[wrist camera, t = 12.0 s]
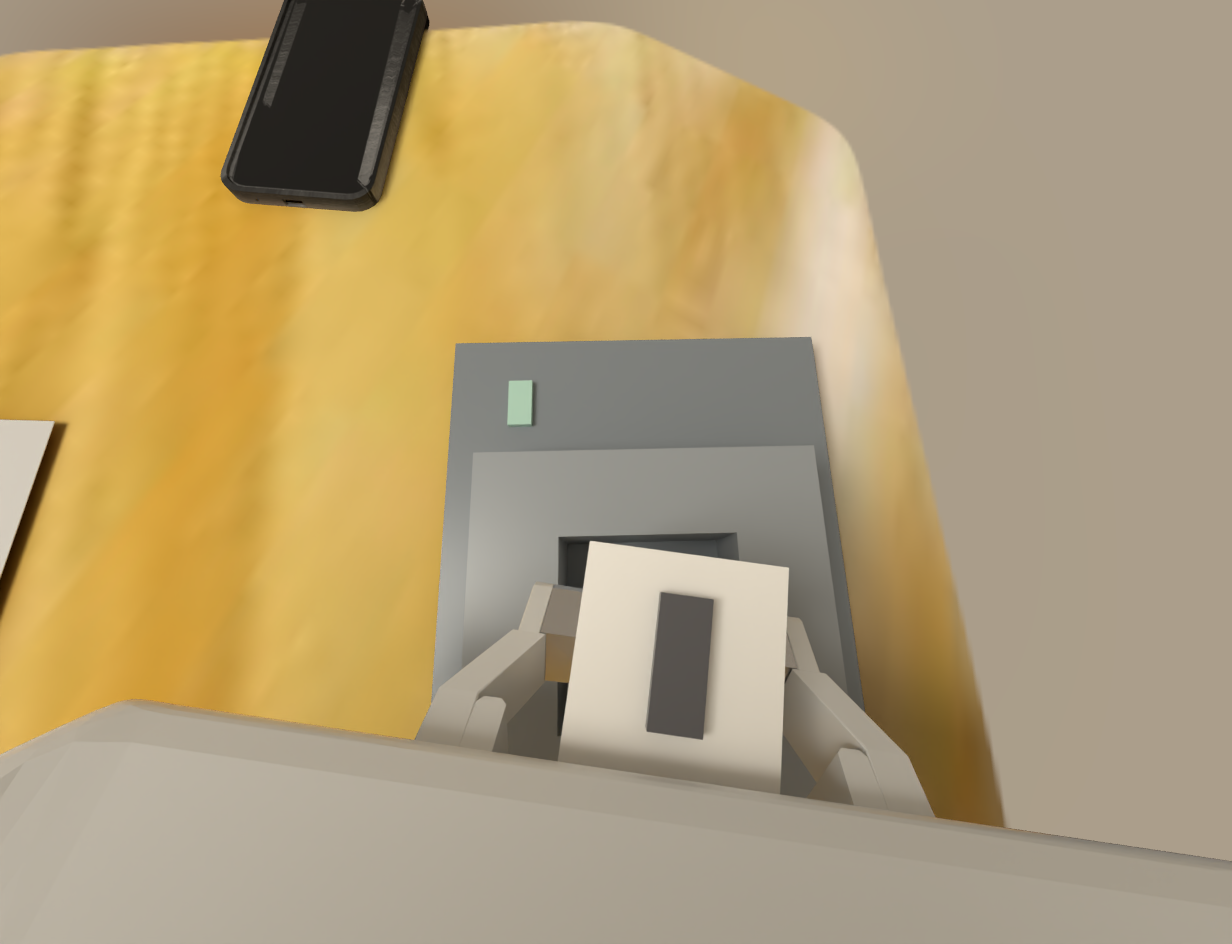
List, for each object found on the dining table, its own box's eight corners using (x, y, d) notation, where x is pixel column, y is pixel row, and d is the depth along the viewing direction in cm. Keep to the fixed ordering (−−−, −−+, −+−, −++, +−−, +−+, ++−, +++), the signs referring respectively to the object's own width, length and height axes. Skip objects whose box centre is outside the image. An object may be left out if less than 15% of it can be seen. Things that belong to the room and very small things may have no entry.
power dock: (888, 977, 15) (982, 1112, 11) (422, 994, 15) (356, 1138, 11) (802, 348, 21) (845, 295, 17) (463, 354, 21) (428, 302, 17)
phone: (425, -13, 26) (368, 200, 22) (433, 11, 27) (380, 218, 23) (290, -23, 26) (211, 188, 22) (303, 2, 27) (230, 206, 23)
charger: (696, 689, 16) (786, 804, 8) (584, 672, 16) (555, 769, 8) (706, 573, 17) (794, 567, 9) (600, 559, 17) (589, 539, 9)
